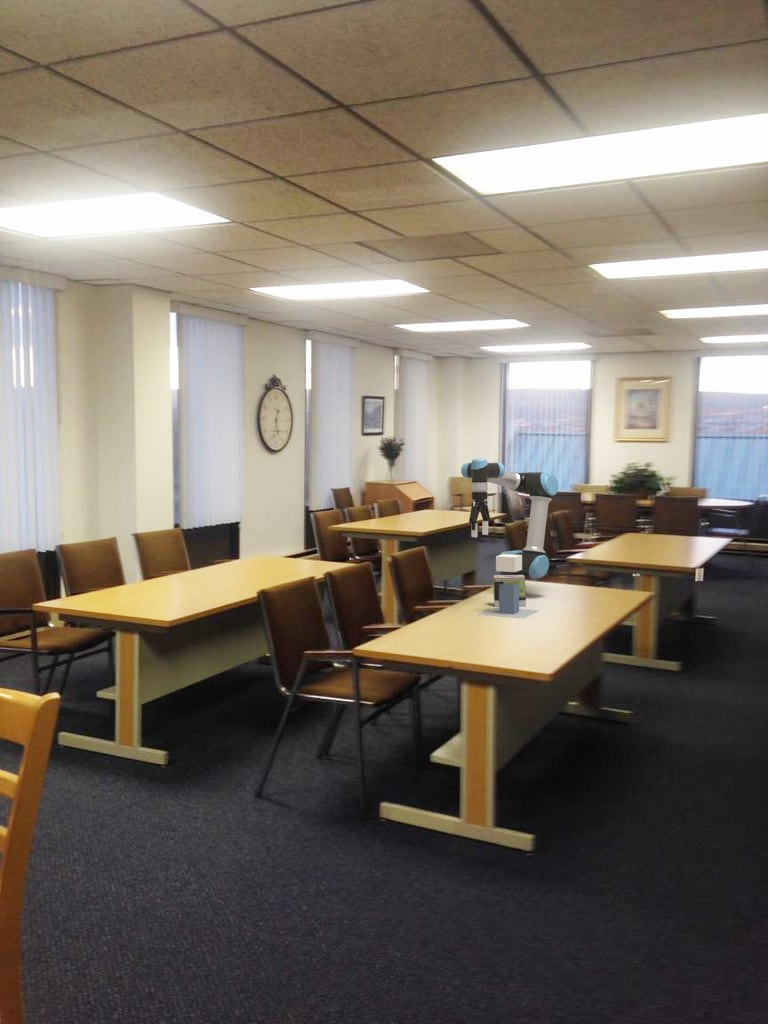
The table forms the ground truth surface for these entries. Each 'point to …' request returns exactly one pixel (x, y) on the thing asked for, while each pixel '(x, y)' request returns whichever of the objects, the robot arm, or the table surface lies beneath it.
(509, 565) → the cap
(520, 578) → the tea box
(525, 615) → the mat
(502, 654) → the table surface
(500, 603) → the carton
